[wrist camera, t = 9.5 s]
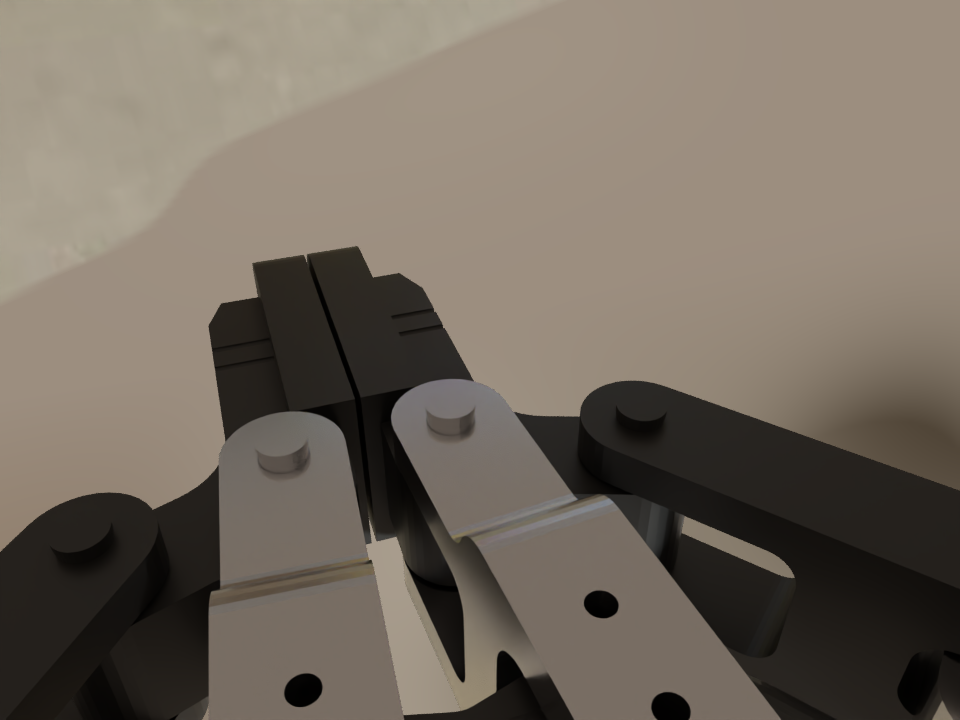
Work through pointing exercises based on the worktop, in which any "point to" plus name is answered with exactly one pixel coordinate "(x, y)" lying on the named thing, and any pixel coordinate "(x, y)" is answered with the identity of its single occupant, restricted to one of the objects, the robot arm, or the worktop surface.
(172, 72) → the worktop surface
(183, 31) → the worktop surface
